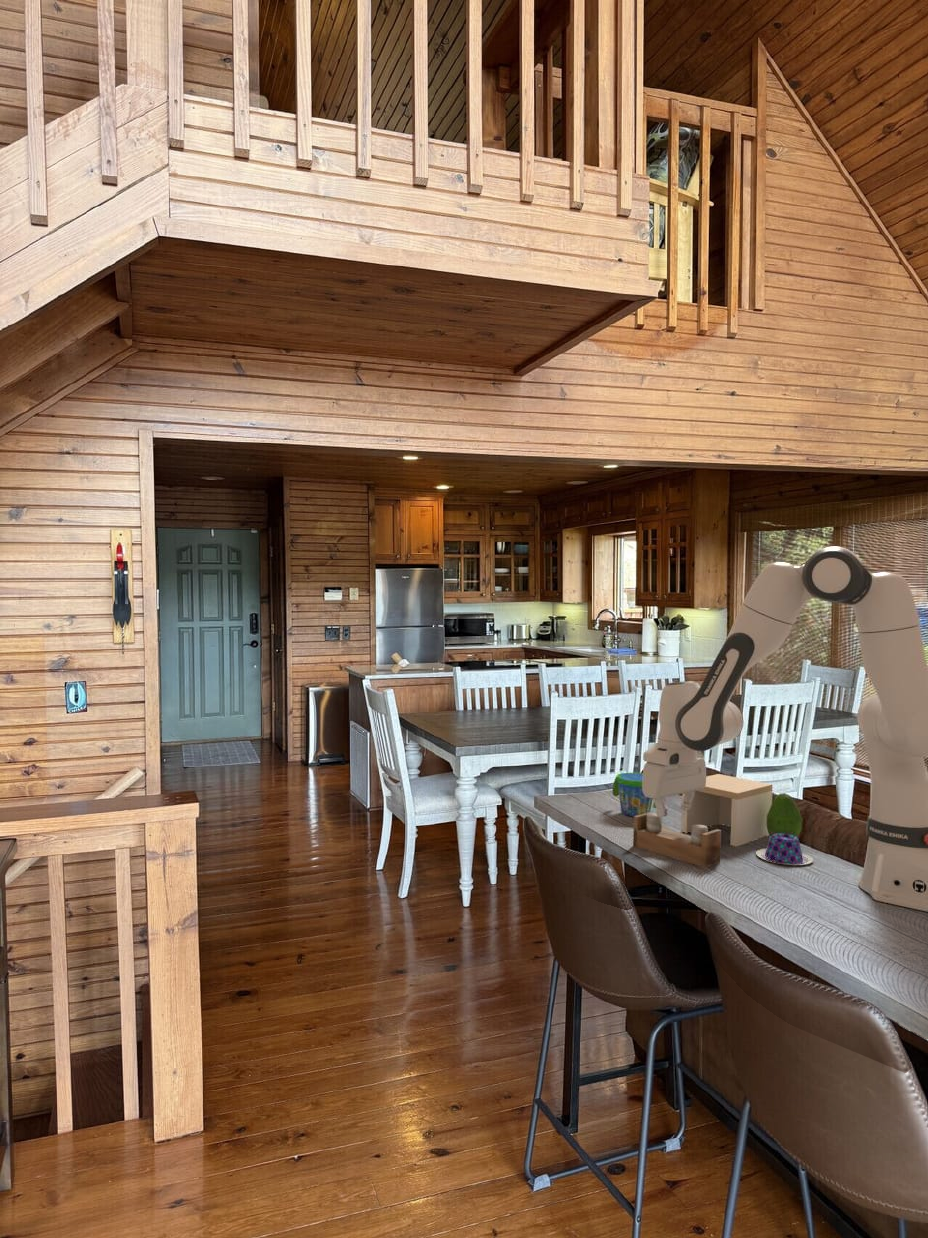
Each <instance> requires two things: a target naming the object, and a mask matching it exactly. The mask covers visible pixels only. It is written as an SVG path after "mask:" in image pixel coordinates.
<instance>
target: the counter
mask: <svg viewBox="0 0 928 1238" xmlns="http://www.w3.org/2000/svg"><path fill="white" fill-rule="evenodd" d="M681 795H682V798H681V800H682V801H681V802H683V800H684V797H685V794H684V793H683V794H681ZM772 802H773V784H772V783H767V782H762V781H757V780H751V779H748V778H747V779H746V778H740V777H735V776H732V775H731V776H730V775H726V774H720V773H717V774H712V775H706V785H705V787H704V789H702V790H697V791H695V796H694V799H693V801H692V803H691V810H690V811H683V810H681V827H680V828H681V829H680V831H682V832H681V833H683V832H685V833H684V834H689V833H688V832H690V833H691V831H692V825H704V826H710V827H713V826H712V825H714V826H716V825H715V824H717V825H721V824H724V825H723V826H725V825H729V826H731V827H730V839H729V841H730V846H732V845H733V847H739V846H741V845H742V846H743V845H745V844H748V843H751V842H753V841H752V840H754V841H756V840H755V839H757V840H759V839H758V838H760V837H763V838H765V837H764V836H766V837H769V836H770V835H769V833H768V830H767V825H766V822H767V814H768V812H769V810H770V807H771V805H772ZM718 823H720V824H718ZM729 826H728V827H729ZM768 835H769V836H768ZM760 839H761V838H760ZM750 841H751V842H750ZM747 842H748V843H747Z"/></svg>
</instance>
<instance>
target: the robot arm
mask: <svg viewBox="0 0 928 1238" xmlns="http://www.w3.org/2000/svg"><path fill="white" fill-rule="evenodd" d="M745 595H746V596H745V598H744V600H743V602H742V604H741V605H740V608H739V611H738V613H737V615H736V617H735V619H734V622H733V623H732V626H731V628H730V631H729V633H728V635H727V637H726V639H725V640H724V643H723V644H722V647H721V649H720V650H719V652H718V654H717V656H716V657H715V659H714V661H713V662H712V664H711V666H710V668H709V670H708V672H707V673H706V676H705V678H704V679H703V681H702V682H701V683H702V684H701V685H700V684H699V683H698V682H696V681H693V680H685V681H677V682H669V683H667V684H666V685H665V686H663V689H662V690H661V691H662V692H661V694H660V700H659V701H660V702H659V707H658V708H659V710H658V722H659V732H658V734H657V742H656V743H654V744H653V745H652V746H650V747H649V748H648V749H647V750H645V751H644V752H643V756H642V760H643V761H644V762H645V764H644V765H643V769H642V773H643V777H642V791H643V794H644V796H645V797H649V798H653V804H654V803H655V805H656V808H655V809H656V814H657V816H659V817H662V818H664V817H667V816H668V808H666V807H665V802H666V798H668V797H669V798H670V797H673V796H674V797H675V796H678V795H682V794H683V793H684V794H685V797H684V800H683V802H682V801H681V802H680V809H681V811H682V810H683V811H690V810H691V803H692V801H693V799H694V796H695V791H697V790H702V789H704V787H705V785H706V777H707V768H706V767H707V766H706V760H705V759H704V754H703V752H705V751H708V750H710V749H712V748H714V747H716V746H720V745H723V744H725V743H727V742H728V743H729V742H730V741H732V740H734V739H736V738H737V737H739V735H740V734H741V732H742V730H743V727H744V716H743V713H742V711H741V710H740V708H739V707H738V705H737V704H735V703H733V702H732V701H730V700H731V698H732V696H733V695H734V693H735V692H736V690H737V687H738V686H739V683H740V682H741V679H743V677H744V675H746V673H747V672H748V670H750V669H751V668H752V667H753V666H755V665H756V664H757V663H759V662H760V661H762V660H764V659H766V658H767V657H769V656H772V655H773V654H774V653H776V652H777V651H778V650H779V648H780V647H781V646H782V645H783V643H784V642H785V641H786V640H787V638H788V635H789V634H790V633H791V630H792V628H793V626H794V624H795V622H796V621H797V618H798V616H799V613H800V611H802V609H803V607H804V605H805V604H806V603H807V602H808V601H811V600H812V599H817V600H820V601H823V602H826V603H828V602H829V603H836V604H842V605H850V606H851V608H852V610H853V612H854V616H855V621H856V626H857V628H856V629H857V632H858V639H859V645H860V646H859V647H860V653H861V658H862V664H863V669H864V672H865V673H866V675H867V676H868V678H869V680H870V682H871V683H872V685H873V688H874V690H875V693H876V694H874V695H871V696H869V697H867V698H865V699H864V700H863V701H862V702H861V704H860V705H859V707H858V710H857V715H856V721H857V724H858V726H859V728H860V730H861V732H862V736H863V739H864V745H865V752H866V756H867V757H866V758H867V762H868V768H869V774H870V775H869V776H870V798H869V799H870V803H869V815H868V816H867V823H866V829H865V831H866V835H865V836H866V843H867V849H866V854H865V855H866V856H865V861H864V865H863V869H862V871H861V872H862V873H861V876H860V879H859V881H858V887H859V888H860V889H862V890H863V891H864V892H867V893H868V894H869V895H870V896H871V897H872V899H873V900H875V901H878V902H881V903H882V902H883V903H886V904H887V903H888V904H891V905H895V906H900V907H905V908H909V909H914V910H919V911H923V912H927V913H928V770H927V766H926V763H925V759H924V758H928V662H927V658H926V654H925V653H926V652H925V647H924V642H923V636H922V630H921V629H922V628H921V625H920V624H921V623H920V618H919V613H918V610H917V606H916V602H915V599H914V596H913V593H912V591H911V588H910V586H909V583H908V581H907V580H906V579H905V577H903V576H902V575H900V574H898V573H893V572H885V571H883V572H870V571H869V570H868V569H867V568H866V567H865V566H864V564H863V562H862V561H861V559H860V558H859V557H858V555H857V554H856V553H854V552H853V551H852V550H850V549H849V548H846V547H843V546H838V545H837V546H835V545H834V546H825V547H823V548H821V549H818V550H817V551H815V552H814V553H813V554H812V555H811V556H810V557H809V558H808V559H807V561H806V562H804V563H802V564H801V565H794V564H791V563H788V562H784V561H783V562H781V561H776V562H771V563H768V564H766V565H765V566H764V568H763V569H762V570H761V571H760V573H759V574H758V576H757V577H756V578H755V580H754V582H753V583H752V585H751V587H750V589H749V590H748V591H747V594H745Z"/></svg>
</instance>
